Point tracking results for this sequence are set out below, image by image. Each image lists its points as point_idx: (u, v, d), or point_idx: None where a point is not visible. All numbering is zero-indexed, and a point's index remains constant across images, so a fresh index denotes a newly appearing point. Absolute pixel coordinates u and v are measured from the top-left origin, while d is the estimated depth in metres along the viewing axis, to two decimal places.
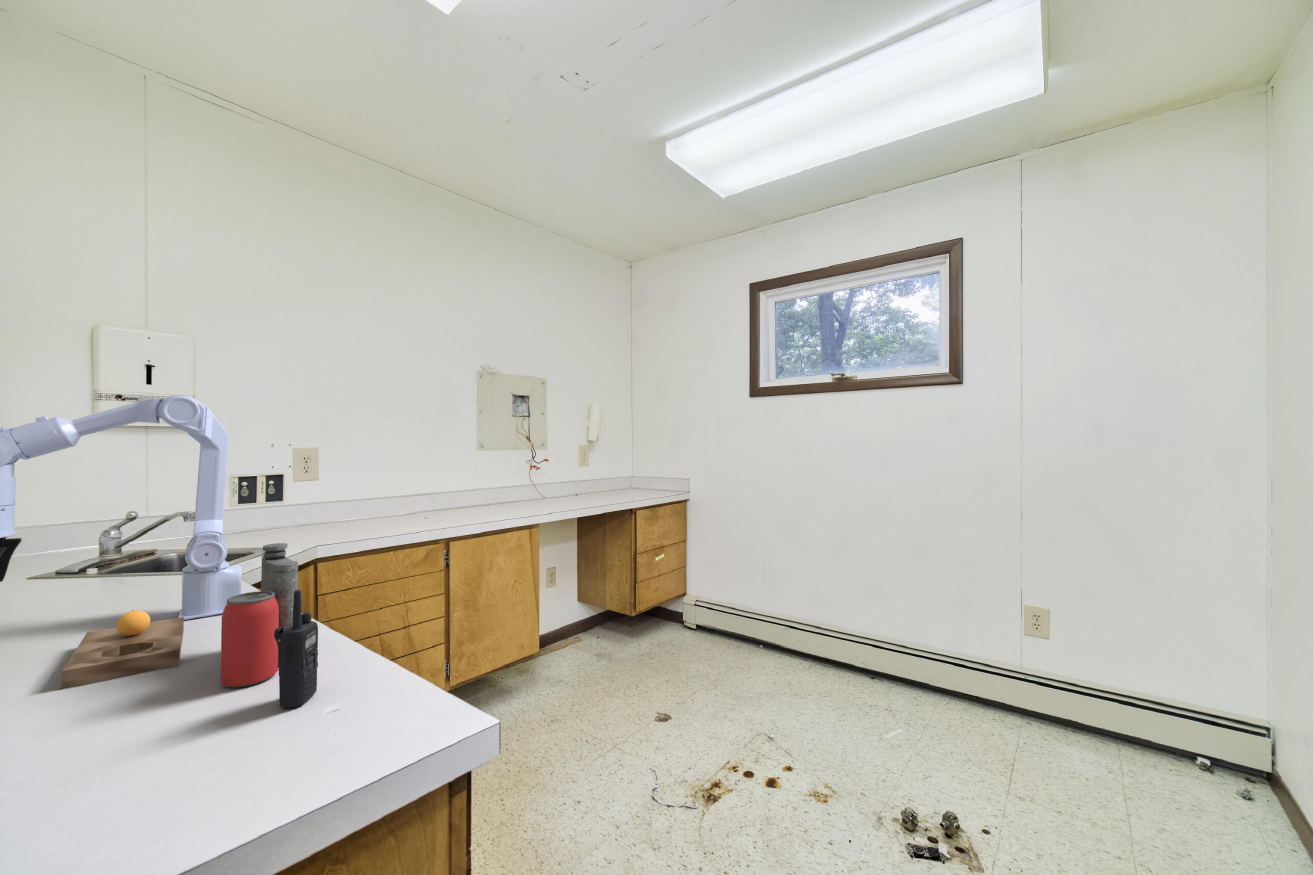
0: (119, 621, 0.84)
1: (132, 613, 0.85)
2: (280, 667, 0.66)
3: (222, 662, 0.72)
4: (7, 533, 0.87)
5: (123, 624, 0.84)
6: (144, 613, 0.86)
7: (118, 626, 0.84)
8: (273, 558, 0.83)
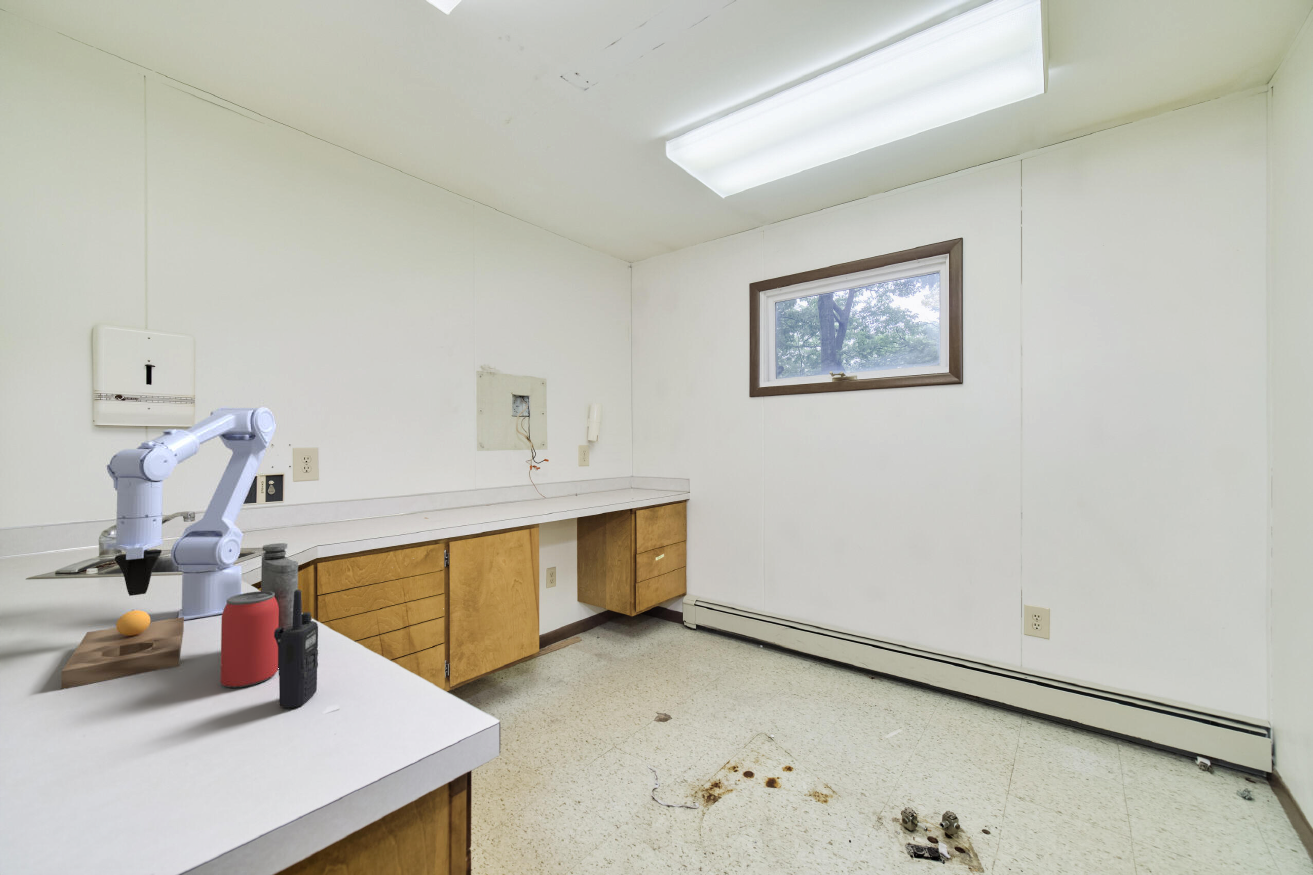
0: (119, 621, 0.84)
1: (132, 613, 0.85)
2: (280, 667, 0.66)
3: (222, 662, 0.72)
4: (158, 542, 0.91)
5: (123, 624, 0.84)
6: (144, 613, 0.86)
7: (118, 626, 0.84)
8: (273, 558, 0.83)
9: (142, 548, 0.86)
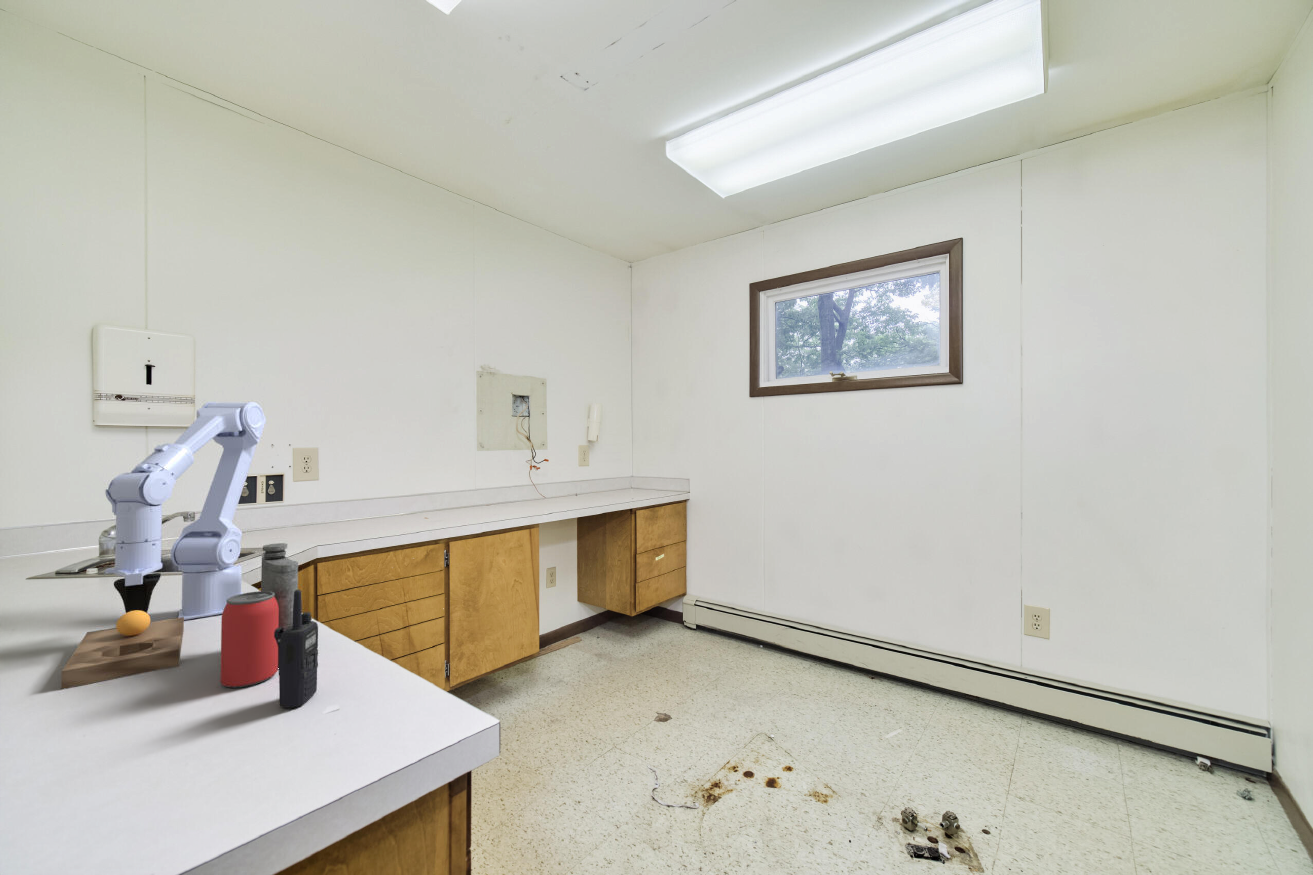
0: (119, 621, 0.84)
1: (132, 613, 0.85)
2: (280, 667, 0.66)
3: (222, 662, 0.72)
4: (157, 567, 0.91)
5: (123, 624, 0.84)
6: (144, 613, 0.86)
7: (118, 626, 0.84)
8: (273, 558, 0.83)
9: (141, 574, 0.86)
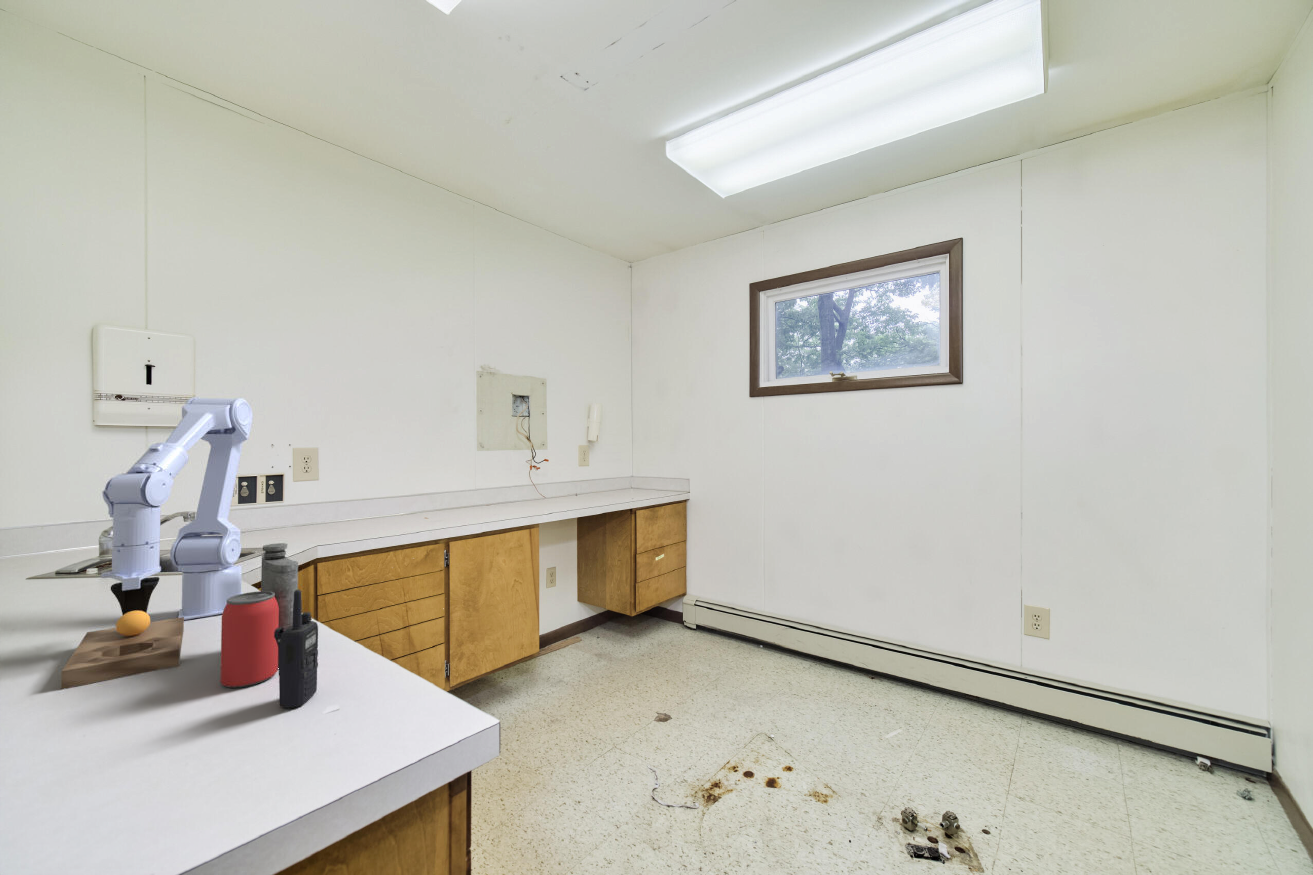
0: (119, 621, 0.84)
1: (132, 614, 0.85)
2: (280, 667, 0.66)
3: (222, 662, 0.72)
4: (155, 570, 0.88)
5: (123, 624, 0.84)
6: (144, 613, 0.86)
7: (118, 626, 0.84)
8: (273, 558, 0.83)
9: (139, 578, 0.83)
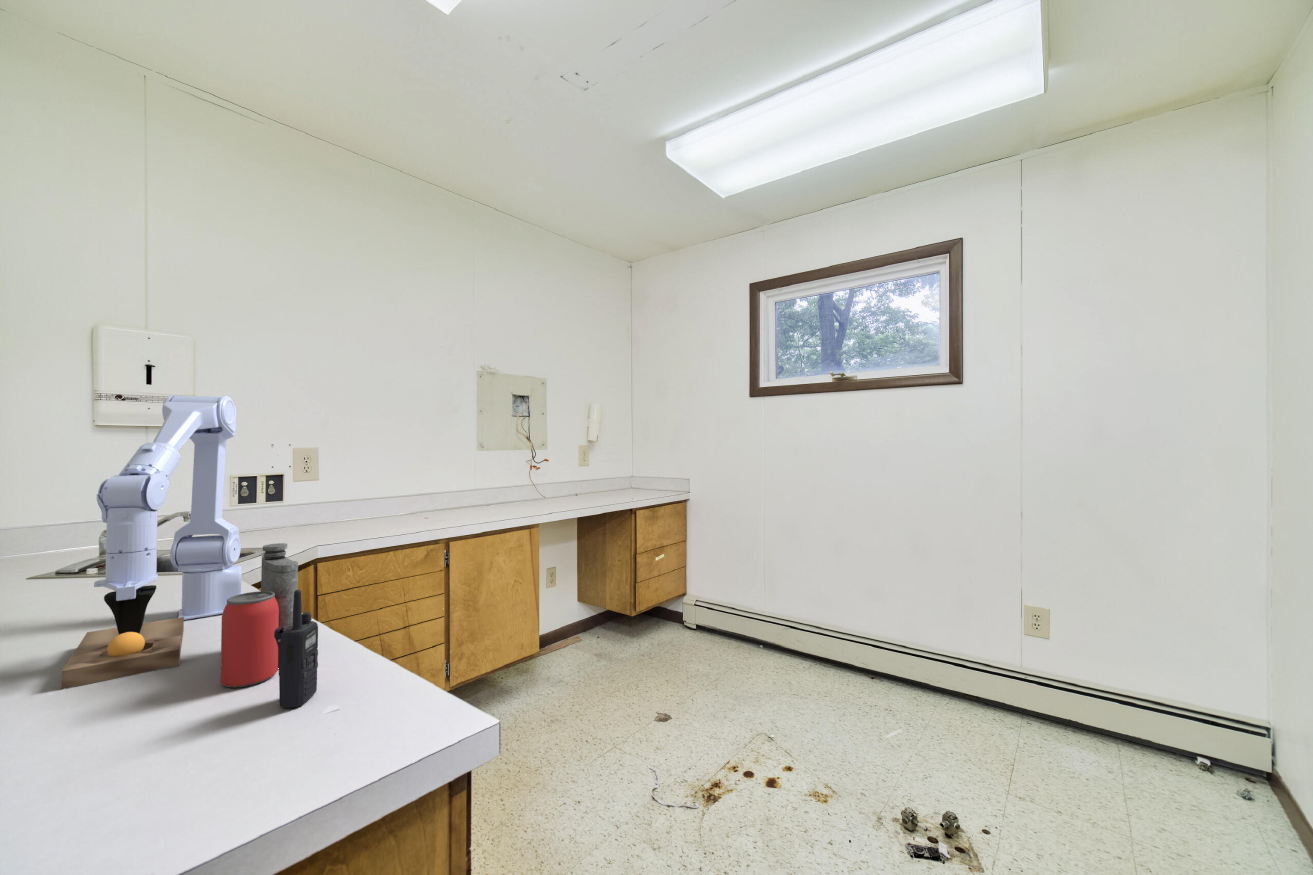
0: None
1: None
2: (280, 667, 0.66)
3: (222, 662, 0.72)
4: (152, 579, 0.83)
5: None
6: None
7: (111, 641, 0.78)
8: (273, 558, 0.83)
9: (134, 587, 0.78)
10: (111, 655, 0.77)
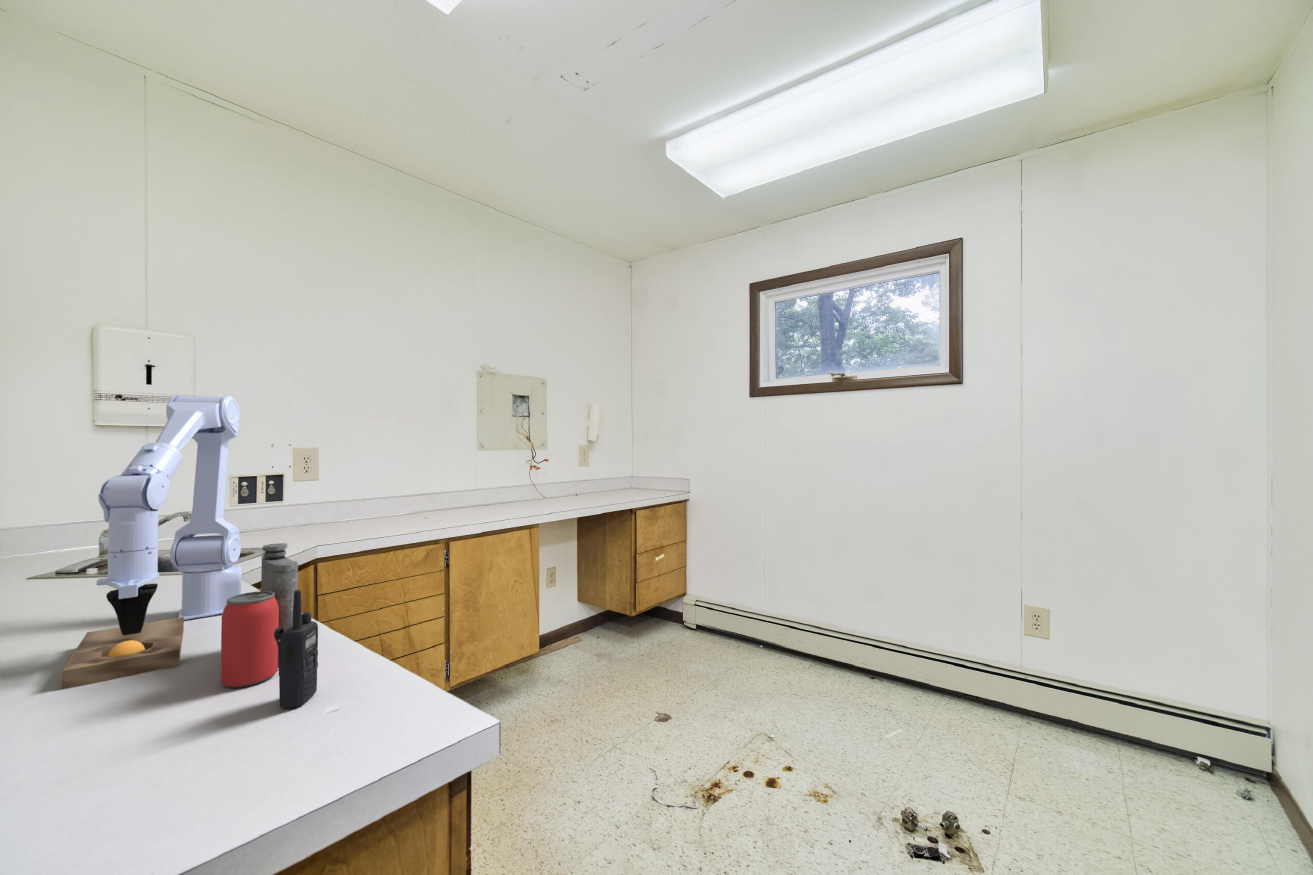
0: None
1: None
2: (280, 667, 0.66)
3: (222, 662, 0.72)
4: (153, 577, 0.84)
5: None
6: None
7: None
8: (273, 558, 0.83)
9: (136, 586, 0.79)
10: None
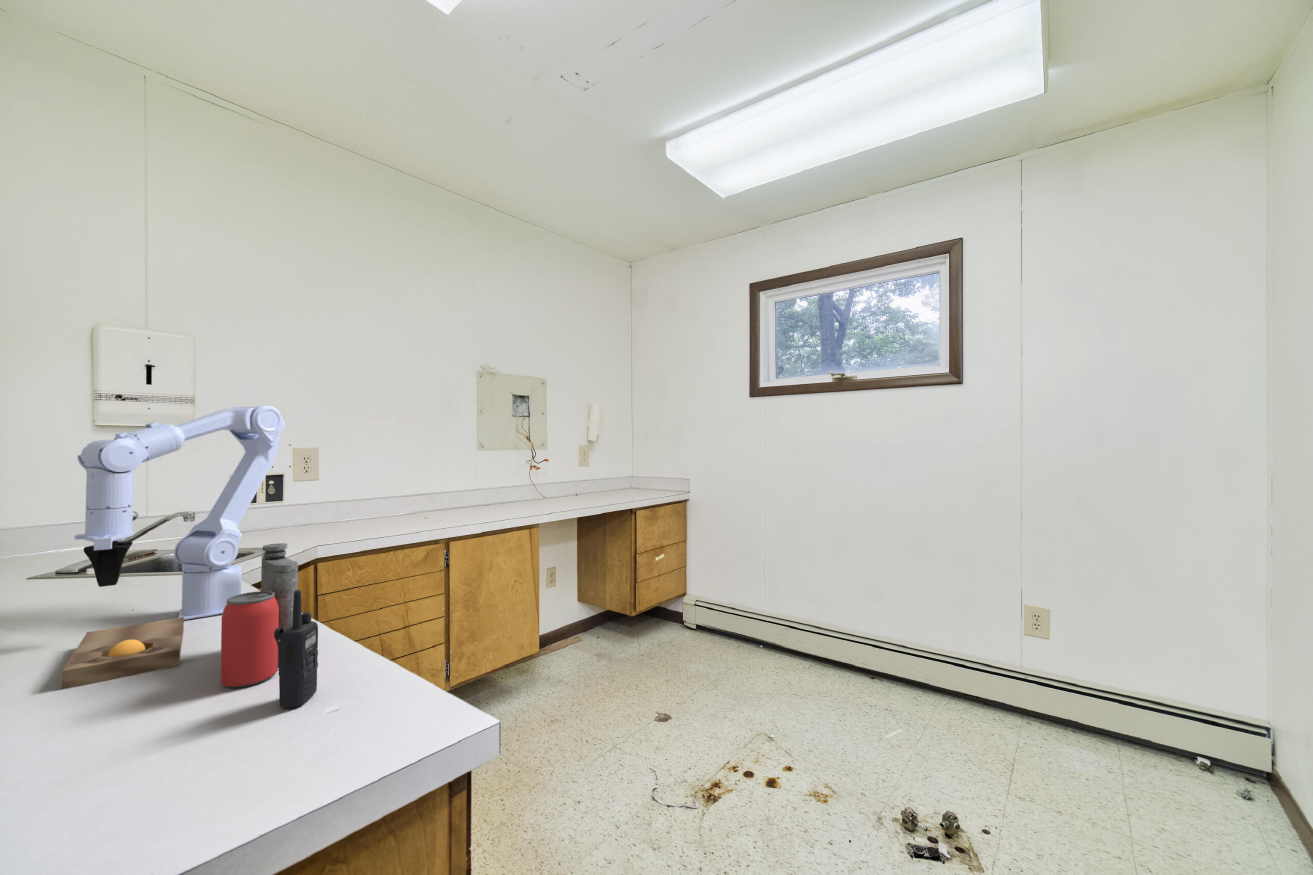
0: None
1: None
2: (280, 667, 0.66)
3: (222, 662, 0.72)
4: (128, 534, 0.91)
5: None
6: None
7: None
8: (273, 558, 0.83)
9: (110, 539, 0.86)
10: None
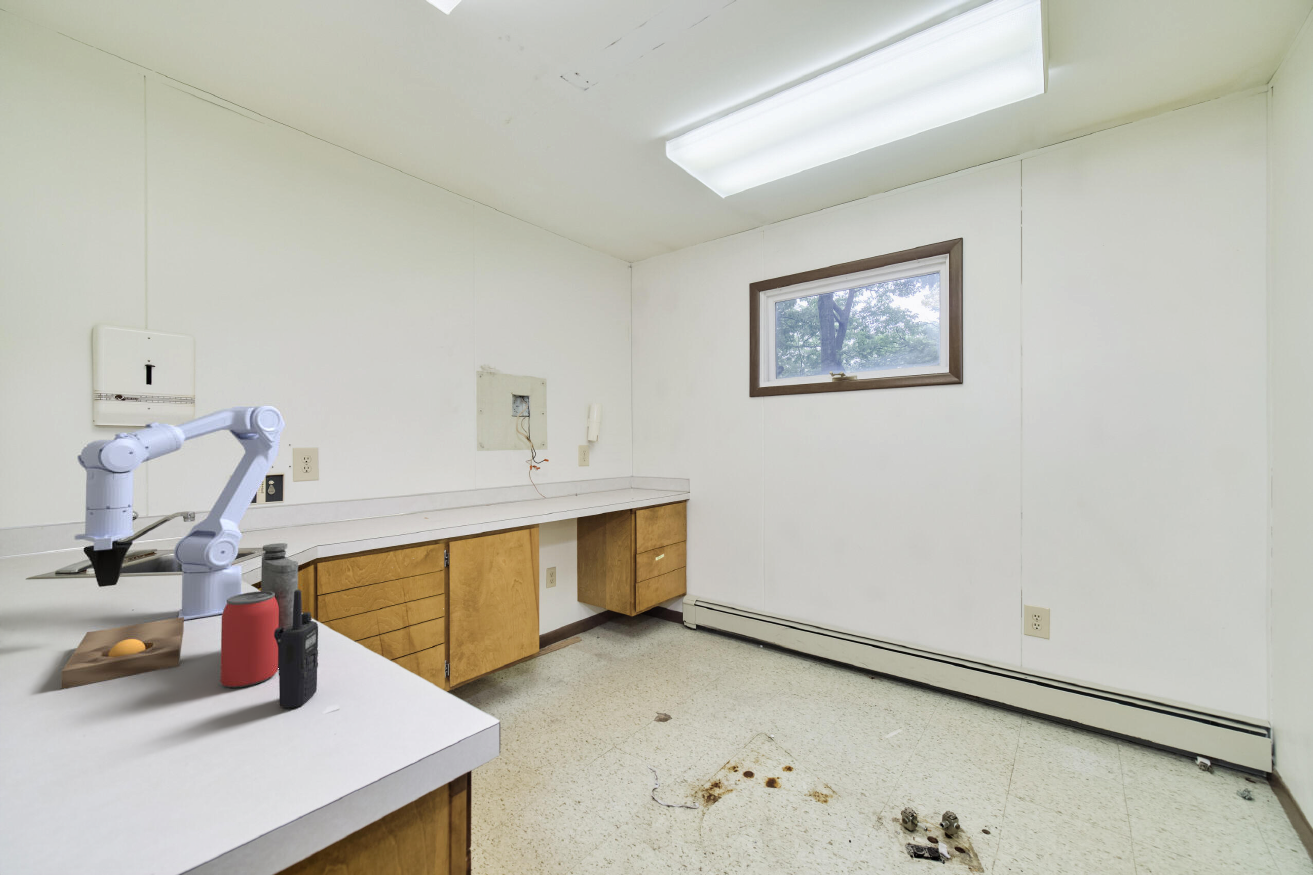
0: None
1: None
2: (280, 667, 0.66)
3: (222, 662, 0.72)
4: (128, 534, 0.91)
5: None
6: None
7: None
8: (273, 558, 0.83)
9: (110, 539, 0.86)
10: (112, 654, 0.78)
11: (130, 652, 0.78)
